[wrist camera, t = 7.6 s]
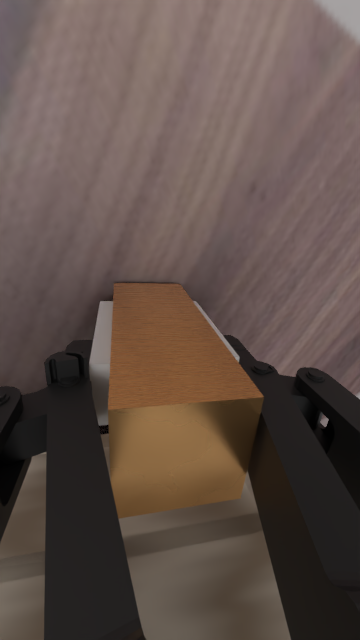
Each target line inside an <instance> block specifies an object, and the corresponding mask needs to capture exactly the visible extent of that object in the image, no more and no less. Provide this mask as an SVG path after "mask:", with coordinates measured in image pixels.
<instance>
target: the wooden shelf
mask: <svg viewBox="0 0 360 640" xmlns="http://www.w3.org/2000/svg"><path fill="white" fill-rule="evenodd" d="M101 438H102V443H103V448H104V453H105V457H106V462H107V467H108V471H109V476H110V451H109V434H101ZM110 481H111V478H110ZM119 523H120V528H121V533H122V538H123V542H124V547H125V552H126V556H127V561H128V566H129V571H130V575H131V580H132V585H133V589H134V594H135V599H136V604H137V608H138V613H139V618H140V622H141V626H142V630H143V633H144V636H145V638H146V640H291V637H290V634H289V630H288V626H287V622H286V618H285V614H284V610H283V606H282V603H281V599H280V595H279V591H278V587H277V583H276V579H275V575H274V571H273V568H272V564H271V560H270V556H269V552H268V548H267V544H266V540H265V537H264V533H263V529H262V525H261V521H260V517H259V513H258V509H257V505H256V502H255V498H254V494H253V490H252V486H251V482H250V478H249V474H248V471H247V473H246V477H245V482H244V486H243V490H242V494H241V498H240V499H234V500H228V501H222V502H216V503H210V504H204V505H198V506H192V507H186V508H180V509H174V510H168V511H162V512H156V513H150V514H144V515H138V516H132V517H126V518H120V519H119ZM45 524H46V452H44V453H41V454H38V455H36V456H33V457H32V460H31V463H30V465H29V468H28V471H27V473H26V476H25V479H24V481H23V484H22V487H21V489H20V492H19V495H18V497H17V500H16V502H15V505H14V508H13V510H12V513H11V516H10V518H9V521H8V524H7V526H6V529H5V532H4V534H3V537H2V539H1V542H0V640H44V596H45Z"/></svg>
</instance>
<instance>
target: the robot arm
mask: <svg viewBox="0 0 360 640" xmlns="http://www.w3.org/2000/svg"><path fill="white" fill-rule="evenodd" d="M193 302H194V304H195V305H196V306H197V308H198V309H199V310H200V312H201V313H202V314H203V316H204V317H205V318H206V320H207V321H208V322H209V324H210V325H211V326H212V328H213V329H214V330H215V332H216V333H217V334H218V336H219V337H220V338H221V340H222V341H223V343H224V344H225V345H226V347H227V348H228V349H229V351H230V352H231V353H232V355H233V356H234V357H235V359H236V360H237V361H238V363H239V364H240V365H241V367H242V368H243V369H244V371H245V372H246V373H247V375H248V376H249V377H250V379H251V380H252V381H253V383H254V384H255V385H256V387H257V388H258V389H259V391H260V392H261V394H262V395H263V396H264V400H263V404H262V409H261V413H260V417H259V422H258V426H257V430H256V434H255V439H254V443H253V447H252V452H251V456H250V460H249V464H248V469H247V471H248V474H249V478H250V482H251V486H252V490H253V494H254V498H255V502H256V505H257V509H258V513H259V517H260V521H261V525H262V529H263V533H264V537H265V540H266V544H267V548H268V552H269V556H270V560H271V564H272V568H273V571H274V575H275V579H276V583H277V587H278V591H279V595H280V599H281V603H282V606H283V610H284V614H285V618H286V622H287V626H288V630H289V634H290V637H291V640H360V399H358V398H357V397H356V396H355V395H353V394H352V393H351V392H350V391H348V390H347V389H346V388H345V387H343V386H342V385H341V384H339V383H338V382H337V381H336V380H334V379H333V378H332V377H331V376H329V375H328V374H326V373H325V372H323V371H320V370H318V369H316V368H306V367H304V368H300V369H299V370H298V371H297V374H296V377H290V376H283V375H279V374H278V372H277V370H276V369H275V368H274V367H273V366H271V365H269V364H267V363H264V362H260V361H256V360H255V358H254V357H253V356H252V355H251V354H250V353H249V352H248V350H246V348H245V347H244V346H243V345H242V343H241V342H240V341H239V340H238V339H236V338H234V337H233V336H231V335H222V334H221V333H220V331H219V330H218V329H217V327H216V326H215V325H214V324H213V322H212V321H211V320H210V318H209V317H208V316H207V315H206V313H205V312H204V311H203V309H202V308H201V307H200V306H199V304H198V303H197V302H196V301H193ZM112 315H113V301H100V305H99V310H98V316H97V322H96V327H95V333H94V339H93V340H76V341H73V342H71V343H70V344H69V345H68V346H67V348H66V351H63V352H59V353H56V354H54V355H51V356H50V357H49V358H47V359H46V361H45V363H44V364H45V371H46V378H47V387H46V388H44V389H42V390H40V391H37V392H34V393H30V394H26V395H22V396H21V392H20V391H19V389H17V388H14V387H8V386H4V387H0V542H1V539H2V537H3V534H4V532H5V529H6V526H7V524H8V521H9V518H10V516H11V513H12V510H13V508H14V505H15V502H16V500H17V497H18V495H19V492H20V489H21V487H22V484H23V481H24V479H25V476H26V473H27V471H28V468H29V465H30V463H31V460H32V457H33V456H36V455H38V454H41V453H44V452H46V524H45V596H44V640H146V638H145V636H144V633H143V630H142V626H141V622H140V618H139V613H138V608H137V604H136V599H135V594H134V589H133V585H132V580H131V575H130V571H129V566H128V561H127V556H126V552H125V547H124V542H123V538H122V533H121V528H120V523H119V519H118V514H117V509H116V505H115V500H114V495H113V490H112V486H111V481H110V476H109V471H108V467H107V462H106V457H105V453H104V448H103V443H102V438H101V434H100V429H99V426H100V425H108V398H109V377H110V356H111V335H112ZM323 414H324V415H325V416H326V417H327V418H328V419H329V421H328V424H327V426H326V427H324V426H323V425H322V424H321V423H320V421H321V418H322V415H323Z"/></svg>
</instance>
